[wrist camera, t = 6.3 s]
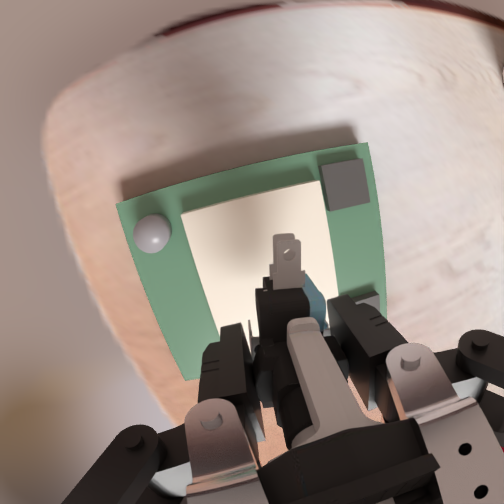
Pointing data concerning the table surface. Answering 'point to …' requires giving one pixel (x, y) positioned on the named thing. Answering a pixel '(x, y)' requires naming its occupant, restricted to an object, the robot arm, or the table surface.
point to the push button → (321, 402)
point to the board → (254, 242)
